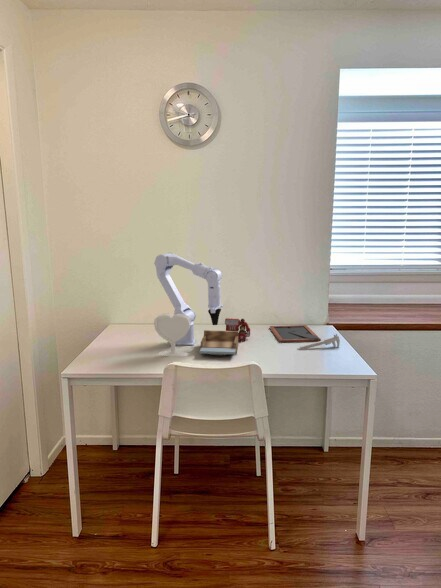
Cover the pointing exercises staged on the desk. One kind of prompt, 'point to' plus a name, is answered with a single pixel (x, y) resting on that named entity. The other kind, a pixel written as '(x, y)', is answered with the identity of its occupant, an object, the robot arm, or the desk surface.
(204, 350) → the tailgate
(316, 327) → the desk surface
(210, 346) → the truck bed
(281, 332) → the picture frame
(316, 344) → the caliper
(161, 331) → the heart sculpture
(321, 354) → the desk surface
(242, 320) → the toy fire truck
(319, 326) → the desk surface
